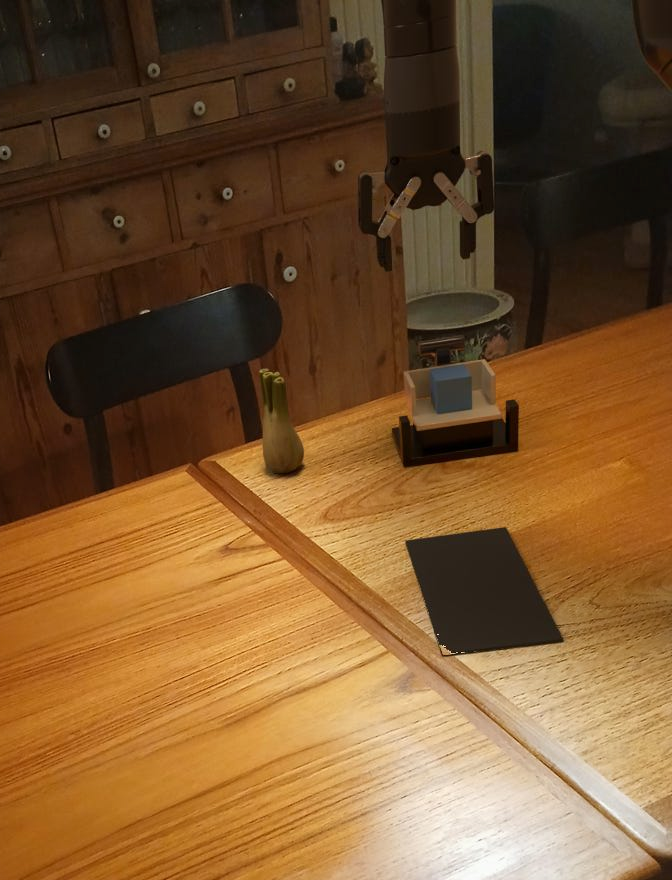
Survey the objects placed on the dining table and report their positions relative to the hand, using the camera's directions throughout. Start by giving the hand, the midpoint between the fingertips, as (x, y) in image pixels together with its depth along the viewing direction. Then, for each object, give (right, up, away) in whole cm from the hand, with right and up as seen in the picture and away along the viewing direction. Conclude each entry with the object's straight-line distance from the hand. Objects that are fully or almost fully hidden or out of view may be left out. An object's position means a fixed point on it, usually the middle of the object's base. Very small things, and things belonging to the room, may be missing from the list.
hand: (426, 263), depth 110 cm
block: (+4, -15, +5) cm, 16 cm away
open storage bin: (+4, -15, +6) cm, 16 cm away
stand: (+5, -19, +7) cm, 21 cm away
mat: (0, -37, -19) cm, 42 cm away
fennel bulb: (-15, -21, +9) cm, 28 cm away
